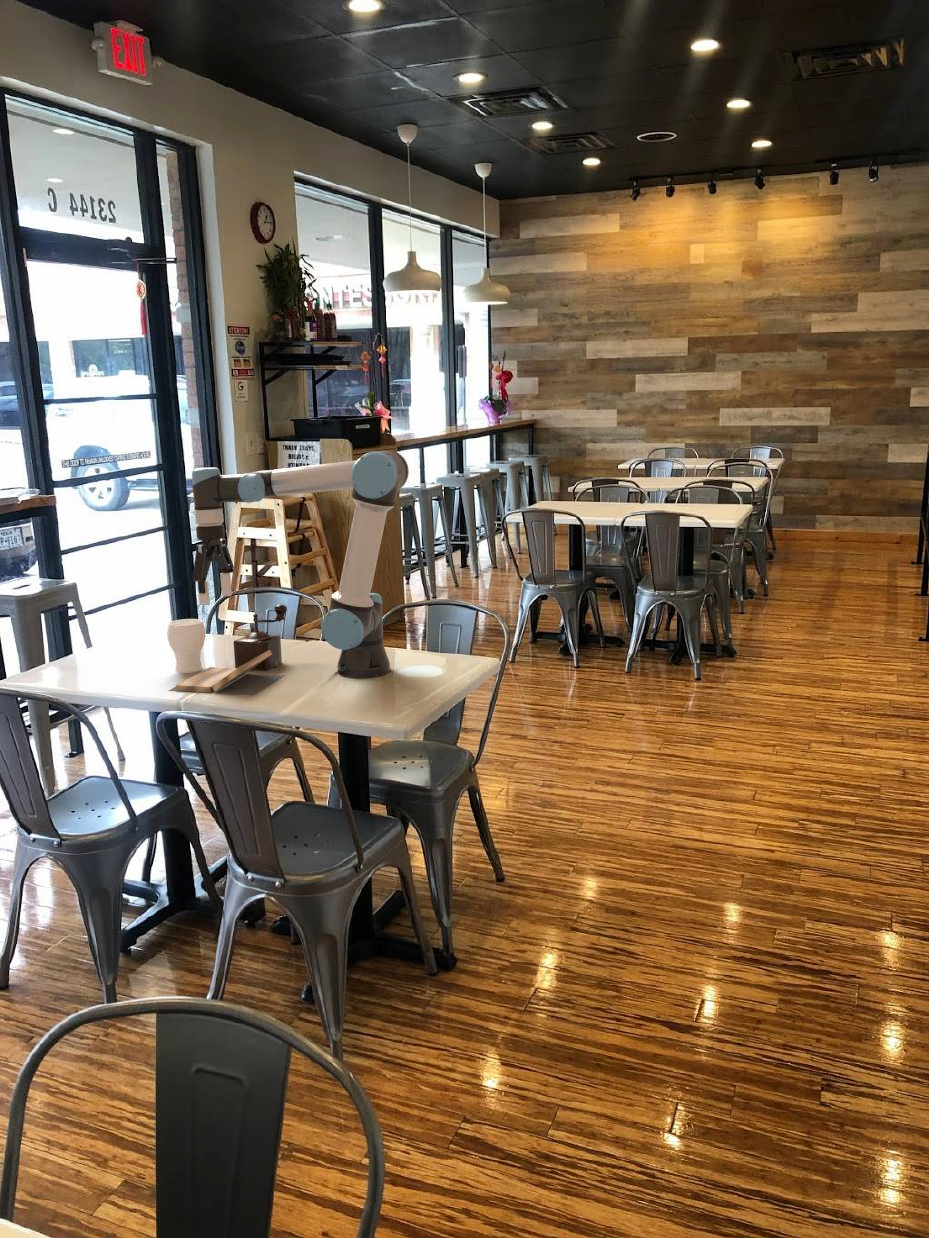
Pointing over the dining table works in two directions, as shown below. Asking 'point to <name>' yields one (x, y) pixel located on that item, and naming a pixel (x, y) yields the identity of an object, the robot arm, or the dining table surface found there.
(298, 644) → the dining table surface
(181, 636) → the cup
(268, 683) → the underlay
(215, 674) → the plank
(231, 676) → the plank
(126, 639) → the dining table surface
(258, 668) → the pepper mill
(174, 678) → the dining table surface
